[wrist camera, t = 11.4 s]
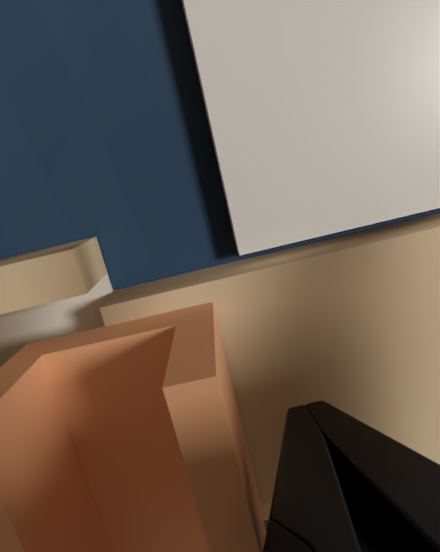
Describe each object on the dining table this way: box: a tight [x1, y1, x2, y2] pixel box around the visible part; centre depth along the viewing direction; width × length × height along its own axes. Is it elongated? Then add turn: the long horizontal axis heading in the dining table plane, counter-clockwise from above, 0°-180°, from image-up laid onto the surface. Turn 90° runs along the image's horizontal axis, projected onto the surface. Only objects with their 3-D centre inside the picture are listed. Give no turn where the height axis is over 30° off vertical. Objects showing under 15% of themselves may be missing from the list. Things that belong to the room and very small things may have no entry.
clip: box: [0, 302, 266, 552], centre depth 8 cm, size 4×6×4 cm
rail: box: [0, 213, 440, 521], centre depth 10 cm, size 21×10×2 cm, turn 103°
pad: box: [182, 0, 440, 255], centre depth 9 cm, size 7×8×1 cm
